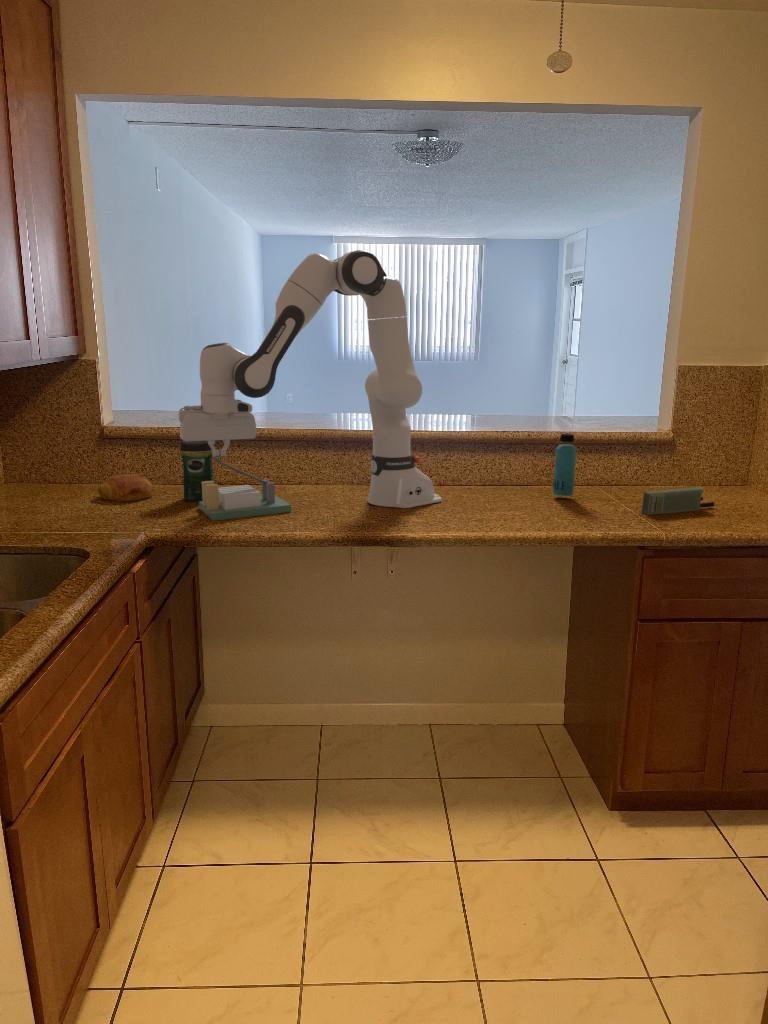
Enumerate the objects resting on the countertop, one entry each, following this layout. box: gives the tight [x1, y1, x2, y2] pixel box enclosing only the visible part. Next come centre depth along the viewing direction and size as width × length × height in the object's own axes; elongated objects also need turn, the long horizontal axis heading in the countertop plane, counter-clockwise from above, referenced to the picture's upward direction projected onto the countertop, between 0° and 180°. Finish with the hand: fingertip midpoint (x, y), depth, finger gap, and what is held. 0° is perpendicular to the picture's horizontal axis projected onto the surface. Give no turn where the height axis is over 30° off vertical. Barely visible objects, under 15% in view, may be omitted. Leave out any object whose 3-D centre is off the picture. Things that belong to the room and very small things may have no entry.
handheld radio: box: [641, 486, 715, 516], centre depth 199 cm, size 7×3×25 cm
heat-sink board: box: [198, 479, 292, 522], centre depth 194 cm, size 22×15×9 cm
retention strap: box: [212, 456, 272, 486], centre depth 192 cm, size 18×3×2 cm, turn 119°
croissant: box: [98, 473, 153, 503], centre depth 209 cm, size 14×16×8 cm
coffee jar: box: [179, 439, 216, 502], centre depth 205 cm, size 10×8×19 cm
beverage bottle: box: [552, 433, 578, 497], centre depth 211 cm, size 6×7×20 cm
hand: (219, 456), depth 188 cm, fingers closed
